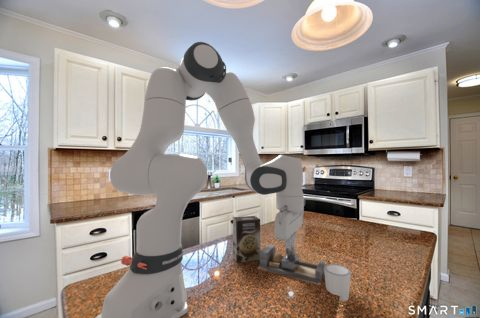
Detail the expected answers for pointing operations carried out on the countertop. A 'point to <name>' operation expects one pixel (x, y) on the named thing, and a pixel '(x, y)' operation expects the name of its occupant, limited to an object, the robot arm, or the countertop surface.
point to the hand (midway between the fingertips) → (290, 245)
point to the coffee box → (246, 238)
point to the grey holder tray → (303, 272)
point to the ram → (290, 257)
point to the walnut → (277, 258)
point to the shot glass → (338, 280)
